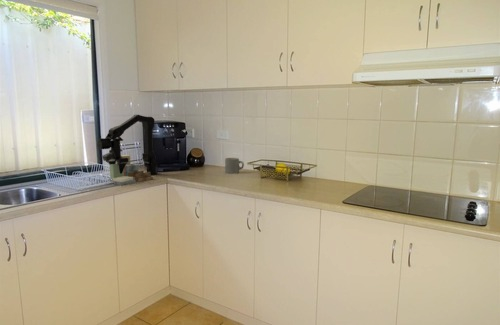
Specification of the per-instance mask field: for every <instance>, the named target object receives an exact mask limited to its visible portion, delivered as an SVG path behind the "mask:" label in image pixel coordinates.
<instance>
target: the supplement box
mask: <svg viewBox="0 0 500 325" xmlns="http://www.w3.org/2000/svg"><path fill="white" fill-rule="evenodd" d="M121 156H122V158H123V157H125V158H128V160H129V162H127V164H126V165H131V155H130V154H124V155H123V154H121ZM116 164H117V161H116Z"/></svg>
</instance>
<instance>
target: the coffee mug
mask: <svg viewBox="0 0 500 325" xmlns="http://www.w3.org/2000/svg"><path fill="white" fill-rule="evenodd" d="M240 164H241V166H240ZM244 167H245V163H244V161H242V160H240V159H239V157H225V158H224V173H225V174H233V175H234V174H238V173H240V171H241V170H242V169H244Z"/></svg>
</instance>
